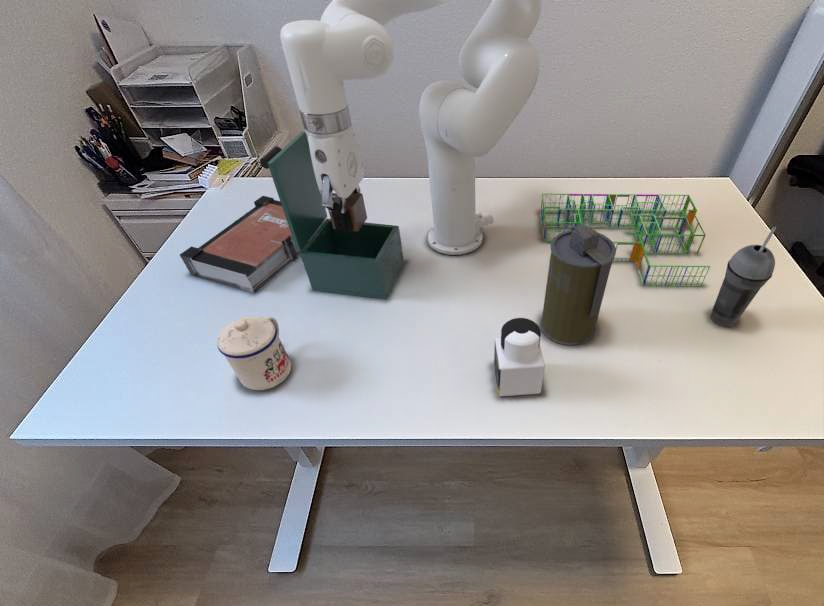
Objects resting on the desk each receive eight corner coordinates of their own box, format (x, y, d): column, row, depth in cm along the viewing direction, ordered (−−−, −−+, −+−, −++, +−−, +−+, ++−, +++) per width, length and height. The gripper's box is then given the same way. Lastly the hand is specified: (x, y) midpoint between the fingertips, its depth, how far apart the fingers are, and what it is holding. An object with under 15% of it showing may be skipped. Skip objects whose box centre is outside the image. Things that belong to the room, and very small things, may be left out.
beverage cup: (742, 310, 89) (796, 216, 74) (743, 335, 84) (801, 240, 69) (703, 303, 90) (748, 208, 75) (702, 326, 86) (750, 231, 71)
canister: (529, 319, 88) (539, 225, 72) (572, 301, 91) (590, 208, 76) (563, 355, 81) (582, 260, 66) (608, 334, 85) (636, 239, 70)
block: (343, 215, 89) (337, 190, 85) (367, 218, 88) (362, 193, 85) (333, 229, 86) (326, 204, 82) (358, 231, 85) (352, 206, 81)
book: (257, 293, 93) (247, 273, 89) (191, 274, 97) (179, 254, 94) (329, 228, 109) (324, 209, 105) (270, 214, 113) (262, 195, 109)
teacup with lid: (280, 395, 76) (253, 345, 67) (229, 389, 77) (196, 339, 68) (307, 344, 84) (287, 294, 75) (261, 339, 84) (235, 289, 76)
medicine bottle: (493, 365, 80) (495, 313, 71) (534, 363, 80) (540, 310, 71) (498, 397, 75) (500, 346, 66) (541, 394, 76) (549, 343, 67)
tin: (404, 262, 100) (398, 225, 93) (385, 299, 92) (378, 262, 85) (336, 254, 102) (326, 218, 95) (312, 290, 94) (299, 253, 87)
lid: (305, 131, 82) (279, 129, 83) (271, 163, 74) (243, 160, 74) (327, 216, 95) (305, 213, 95) (300, 251, 87) (276, 248, 87)
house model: (681, 211, 113) (688, 193, 109) (718, 286, 94) (727, 266, 90) (539, 210, 114) (541, 191, 110) (547, 284, 95) (550, 264, 91)
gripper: (327, 142, 67) (352, 249, 81) (367, 101, 78) (383, 202, 92) (280, 138, 68) (313, 245, 82) (326, 98, 79) (348, 198, 93)
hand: (350, 221), depth 87 cm, fingers closed on block, 5 cm apart
